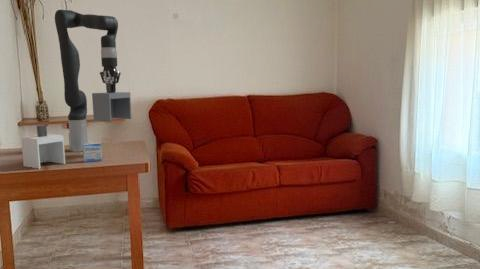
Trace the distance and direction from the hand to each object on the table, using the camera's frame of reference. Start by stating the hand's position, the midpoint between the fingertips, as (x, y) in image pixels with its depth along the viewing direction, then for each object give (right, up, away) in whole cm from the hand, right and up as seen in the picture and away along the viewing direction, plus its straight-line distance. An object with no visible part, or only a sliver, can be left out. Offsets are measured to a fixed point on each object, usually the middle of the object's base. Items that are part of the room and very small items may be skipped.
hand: (111, 91), depth 234 cm
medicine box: (-6, -35, -9) cm, 36 cm away
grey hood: (-27, -36, -16) cm, 48 cm away
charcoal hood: (0, -14, +2) cm, 14 cm away
